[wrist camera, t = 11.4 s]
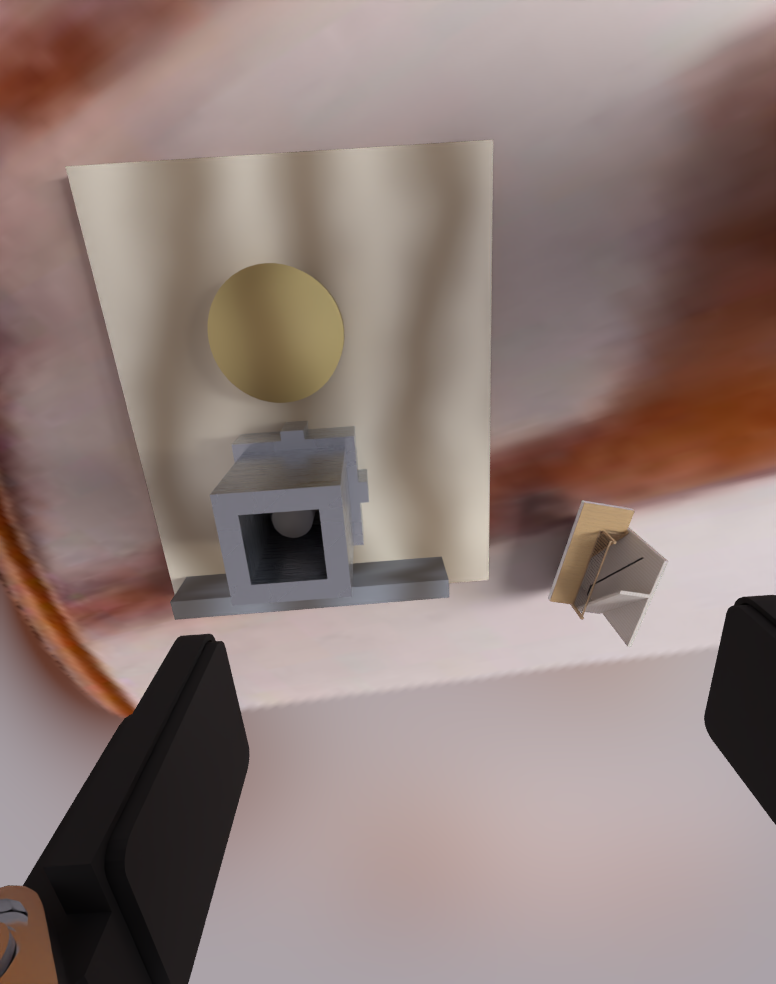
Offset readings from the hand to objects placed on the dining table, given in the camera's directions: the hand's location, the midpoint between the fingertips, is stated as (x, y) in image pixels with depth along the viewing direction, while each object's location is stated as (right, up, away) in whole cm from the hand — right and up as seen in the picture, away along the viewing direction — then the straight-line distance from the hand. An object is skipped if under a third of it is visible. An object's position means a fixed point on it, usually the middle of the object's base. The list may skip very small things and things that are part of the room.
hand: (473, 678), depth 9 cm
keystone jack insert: (-6, +4, +20) cm, 21 cm away
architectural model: (+11, 0, +25) cm, 27 cm away
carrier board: (-6, +9, +20) cm, 22 cm away
